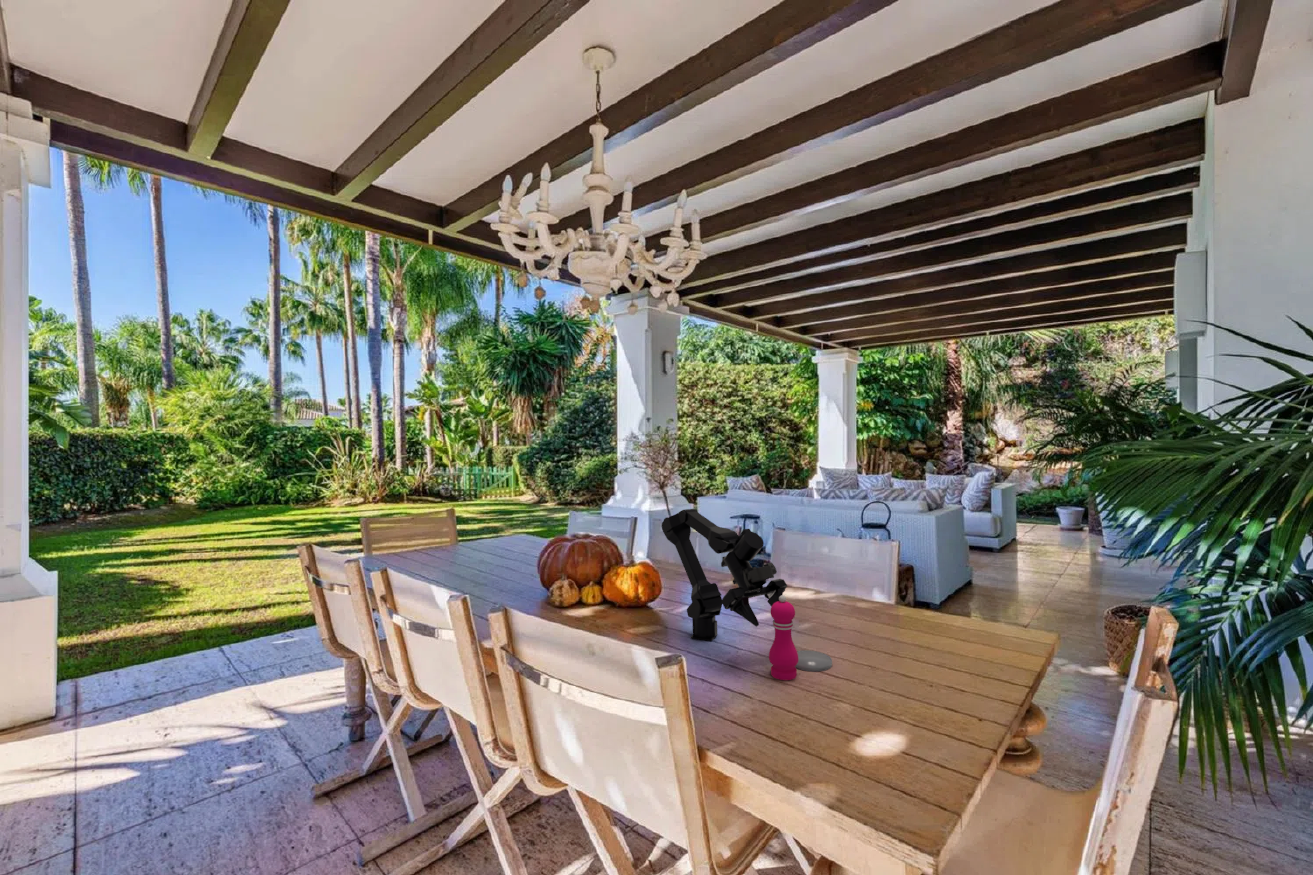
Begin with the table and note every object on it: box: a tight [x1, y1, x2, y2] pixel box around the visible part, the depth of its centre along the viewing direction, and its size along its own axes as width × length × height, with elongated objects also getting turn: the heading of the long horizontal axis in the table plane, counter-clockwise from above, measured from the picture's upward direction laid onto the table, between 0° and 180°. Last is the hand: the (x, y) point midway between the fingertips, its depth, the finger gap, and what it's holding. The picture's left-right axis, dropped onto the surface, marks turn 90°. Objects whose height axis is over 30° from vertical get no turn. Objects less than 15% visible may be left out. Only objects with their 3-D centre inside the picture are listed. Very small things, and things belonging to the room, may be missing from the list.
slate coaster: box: [795, 649, 833, 673], centre depth 152 cm, size 11×11×1 cm
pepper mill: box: [768, 594, 798, 681], centre depth 145 cm, size 7×7×20 cm
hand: (771, 622), depth 148 cm, fingers open, 9 cm apart
